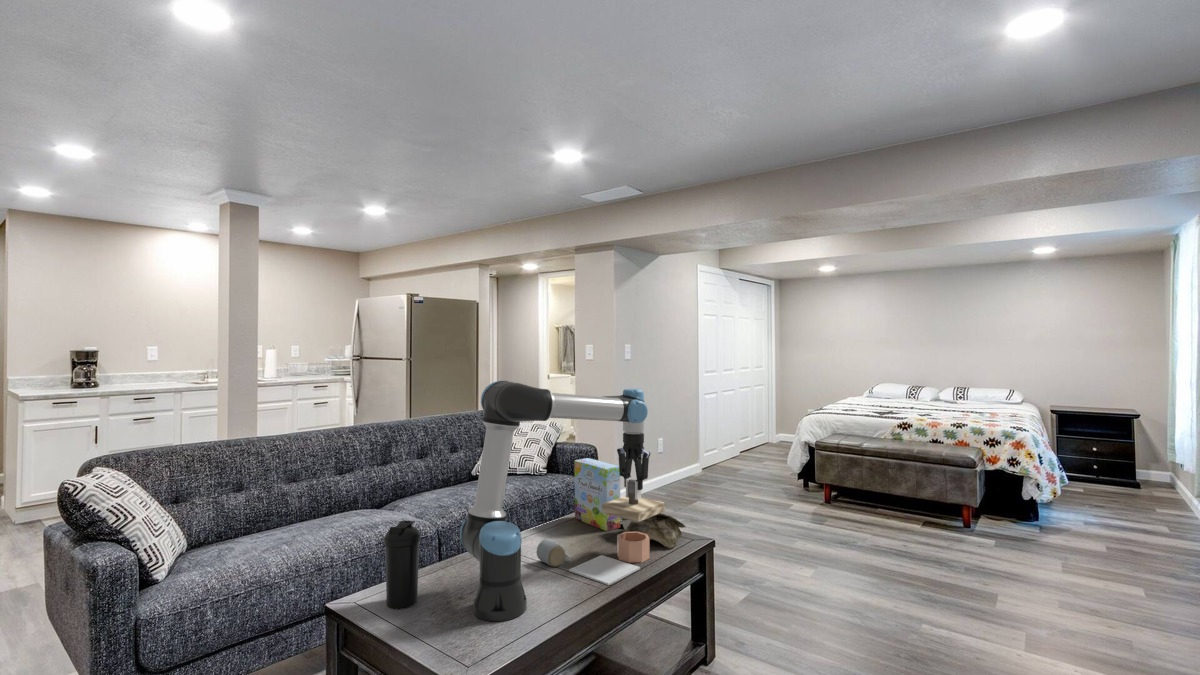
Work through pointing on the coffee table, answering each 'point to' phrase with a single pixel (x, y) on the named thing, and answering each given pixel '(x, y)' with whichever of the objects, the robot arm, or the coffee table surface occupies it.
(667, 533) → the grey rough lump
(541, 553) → the ceramic mug
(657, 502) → the lid
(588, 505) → the snack box
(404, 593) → the water bottle
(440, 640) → the coffee table surface
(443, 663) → the coffee table surface
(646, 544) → the bowl
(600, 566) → the mat
